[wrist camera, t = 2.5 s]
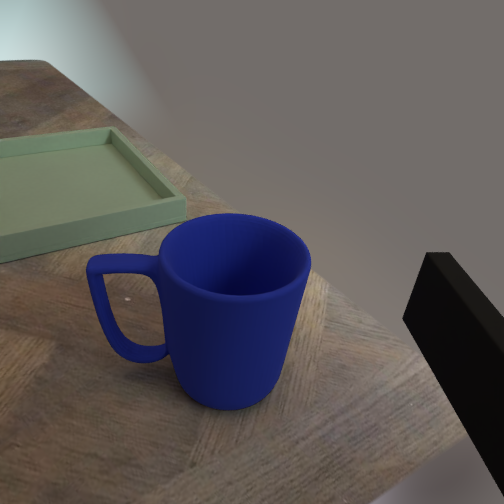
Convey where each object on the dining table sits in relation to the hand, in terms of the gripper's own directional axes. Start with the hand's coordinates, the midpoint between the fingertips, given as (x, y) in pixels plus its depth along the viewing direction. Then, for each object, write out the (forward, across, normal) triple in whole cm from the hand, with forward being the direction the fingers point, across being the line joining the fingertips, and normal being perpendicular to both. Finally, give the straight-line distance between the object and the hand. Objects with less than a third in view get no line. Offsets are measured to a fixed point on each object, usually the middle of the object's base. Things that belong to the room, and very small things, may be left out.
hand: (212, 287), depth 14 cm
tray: (+36, -13, -15) cm, 41 cm away
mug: (+10, 0, -15) cm, 18 cm away
